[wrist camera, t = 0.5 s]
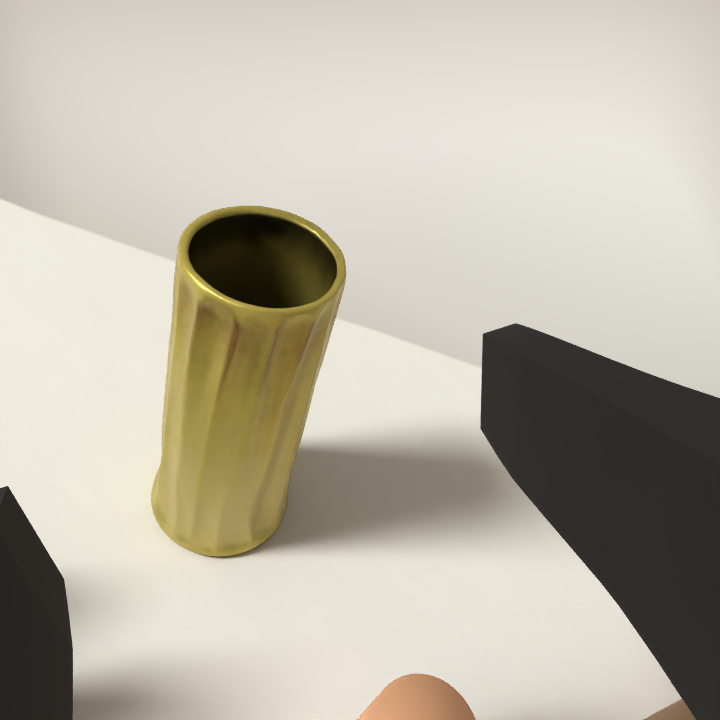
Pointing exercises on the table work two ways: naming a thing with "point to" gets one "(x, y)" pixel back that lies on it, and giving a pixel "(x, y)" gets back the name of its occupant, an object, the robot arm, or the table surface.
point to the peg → (418, 701)
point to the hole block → (673, 712)
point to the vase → (241, 372)
